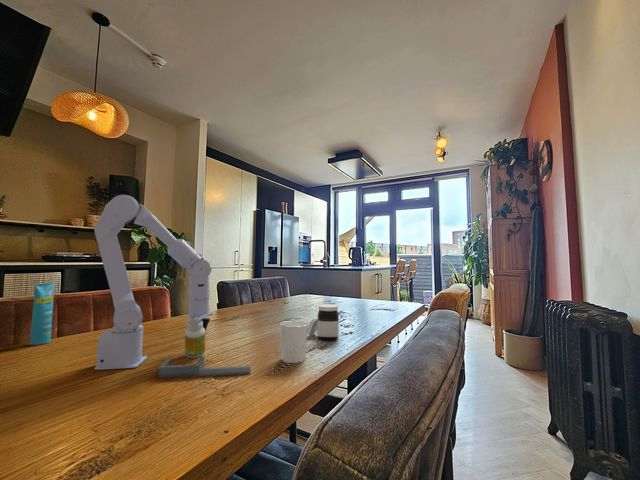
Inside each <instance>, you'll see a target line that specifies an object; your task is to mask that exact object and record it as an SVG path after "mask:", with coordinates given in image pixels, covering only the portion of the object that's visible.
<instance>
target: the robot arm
mask: <svg viewBox="0 0 640 480" xmlns="http://www.w3.org/2000/svg"><path fill="white" fill-rule="evenodd" d="M133 220H134V221H133ZM131 222H133V224H135V225H138V226H141V227H144V228H146V229H147V230H149V232H151V233H152V234H153V235H154V236H155V237H156V238H157V239H158V240H160V241H161V242H162V243H163V244H165V245H166V247H167V254H168V256H170V257H171V258H172V259H173V260H174V261H175V262H177V264H179V265H180V266H181V267H182V268H183V269H186V273H187V274H188V277H189V278H188V279H189V280H188V281H189V283H188V315H187V318H188V319H189V321H191V326H198V325H199V320H202V321H203V327H204V328H205V334H206V332H207V328H208V325H209V323H210V321H211V319H210V318H208V317H212V316H214V312H213V311H210V281H209V280H210V277H209V276H210V275H211V273H212V267H211V264H210V263H209V261H208V260H205V259H204V258H202V257H203V254H201V253H198V252H197V251H196V250H195V249H194V248H193V247H192V246H191V245H192V243H191V242H190V241H189V240H187V241H186V240H185V239H183V238H176V237H175V236H174V235H173V234H172V233H171V232H170V231H169V230H168V228H166V226H165V225H164V224H163V223H161V221H160V220H159V219H158V218H157V217H156V216H155V215H154V214H153V213H152V212H151V211H150V210H149V209H147V208H146V206H144V205H143V204H141V203H139V202H138V201H137V199H135V197H133V196H131V195H128V194H119V195H116V196H115V197H113V198H112V199H111V200H110V201H108V202H107V203H106V204H105V206H104V209H103V211H102V212H101V215H100V217H99V219H98V221H97V222H96V225H95V226H94V236H95V239H96V242H97V246H98V249H99V253H100V257H101V260H102V265H103V269H104V271H105V272H104V273H105V275H106V279H107V283H108V287H109V290H110V293H111V297H112V302H113V306H114V313H113V319H112V322H113V327H111V328H110V329H108V330H104V331H102V332H101V333H100V335H99V337H98V340H97V346H96V347H97V348H96V350H97V351H96V362H95V363H96V365H95V367H94V370H95V371H98V370H99V371H100V370H115V369H116V370H118V369H119V370H121V369H136V368H138V366H140V365H141V364H142V363H143V362H144V361H145V360H147V358H148V356H147V355H143V337H144V325H142V322H143V319H144V315H143V312H142V309H141V307H140V305H139V304H138V303H137V302H136V301H135V298H134V294H133V291H132V286H131V283H130V279H129V276H128V272H127V268H126V264H125V261H124V257H123V253H122V249H121V245H120V242H119V238H118V234H119V233H120V232H121V230H122V229H123V228H124V227H125V225H127V224H129V223H131Z"/></svg>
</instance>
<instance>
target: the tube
mask: <svg viewBox="0 0 640 480" xmlns="http://www.w3.org/2000/svg"><path fill="white" fill-rule="evenodd" d="M33 295H34V296H33V303H32V315H31V326H30V336H29V337H30V339H29V345H32V346H37V345H38V346H39V345H44V344H45V343H46V344H49V343H51V340H52V329H53V328H52V327H53V326H52V325H53V313H54V312H53V310H54V301H55V300H54V298H55V297H54V296H55V281H51V282H45V283H36V284H35V286H34V294H33Z"/></svg>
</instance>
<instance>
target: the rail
mask: <svg viewBox="0 0 640 480" xmlns="http://www.w3.org/2000/svg"><path fill="white" fill-rule="evenodd" d="M251 372H252V365H241V366H240V365H236V366H216V367H205V356H200V357H198V360H197V362H196V364H178V365H177V364H176V365H175V364H174V365H172V358H171V357H167V358H166V359H165V361H163V362H162V364H160V365H159V367H158V374H157V376H158V378H157V379H175V378H178V379H179V378H191V377H208V376H209V377H211V376H226V375H228V376H229V375H244V374H251Z"/></svg>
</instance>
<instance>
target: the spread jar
mask: <svg viewBox="0 0 640 480" xmlns="http://www.w3.org/2000/svg"><path fill="white" fill-rule="evenodd" d="M338 307H339V306H338V305H337V304H331V303H330V304H329V303H328V304H327V303H326V304H325V303H324V304H319V305H318V312H317V316H314V317H313V318H312V319H311V321H310V322H309V324H308V329H307V335H310V336H311V337H312V336H314V335H315V334H316V336H317V340H319V341H322V342H335V341H337V340H338V339H339V335H340V333H339V330H340V329H339V327H340V326H339V324H340V319H339V311H338Z"/></svg>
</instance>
